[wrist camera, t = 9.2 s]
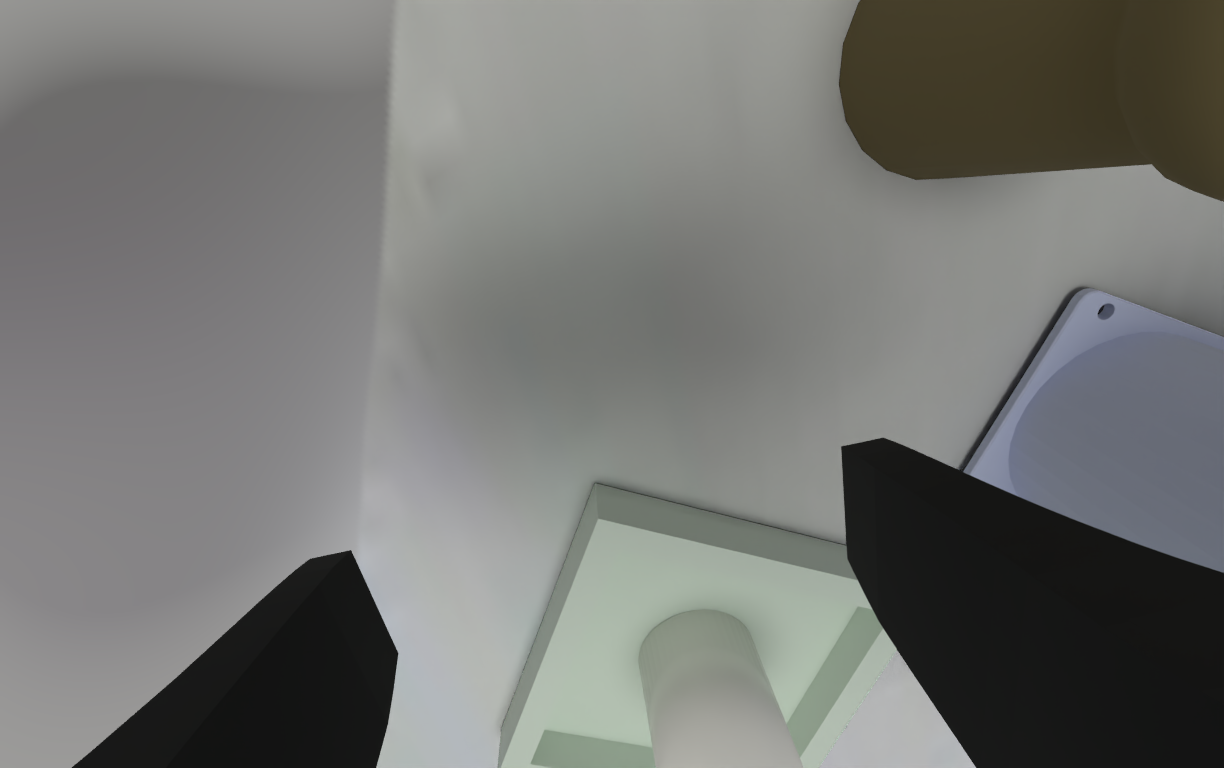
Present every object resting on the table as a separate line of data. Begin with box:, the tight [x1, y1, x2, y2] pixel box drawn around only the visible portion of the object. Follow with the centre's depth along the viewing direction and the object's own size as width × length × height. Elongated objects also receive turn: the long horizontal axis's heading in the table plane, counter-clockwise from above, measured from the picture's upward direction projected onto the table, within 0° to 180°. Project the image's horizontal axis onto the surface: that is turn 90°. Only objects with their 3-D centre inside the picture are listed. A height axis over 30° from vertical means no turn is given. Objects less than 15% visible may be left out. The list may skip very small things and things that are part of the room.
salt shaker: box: [638, 610, 804, 768], centre depth 20 cm, size 4×4×7 cm
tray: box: [498, 483, 897, 768], centre depth 23 cm, size 12×12×2 cm
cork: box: [839, 0, 1224, 202], centre depth 11 cm, size 6×6×11 cm
